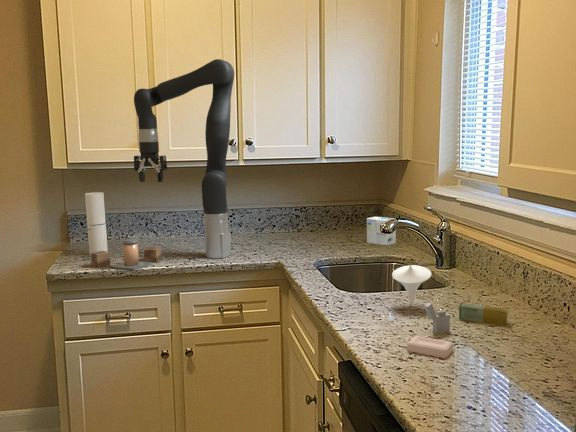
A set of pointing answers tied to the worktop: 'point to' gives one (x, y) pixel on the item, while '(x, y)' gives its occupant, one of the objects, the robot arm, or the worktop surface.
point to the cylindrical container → (96, 222)
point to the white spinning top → (411, 278)
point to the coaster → (132, 268)
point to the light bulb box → (379, 232)
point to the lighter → (438, 319)
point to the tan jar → (130, 252)
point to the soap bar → (430, 346)
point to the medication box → (483, 314)
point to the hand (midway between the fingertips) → (151, 181)
